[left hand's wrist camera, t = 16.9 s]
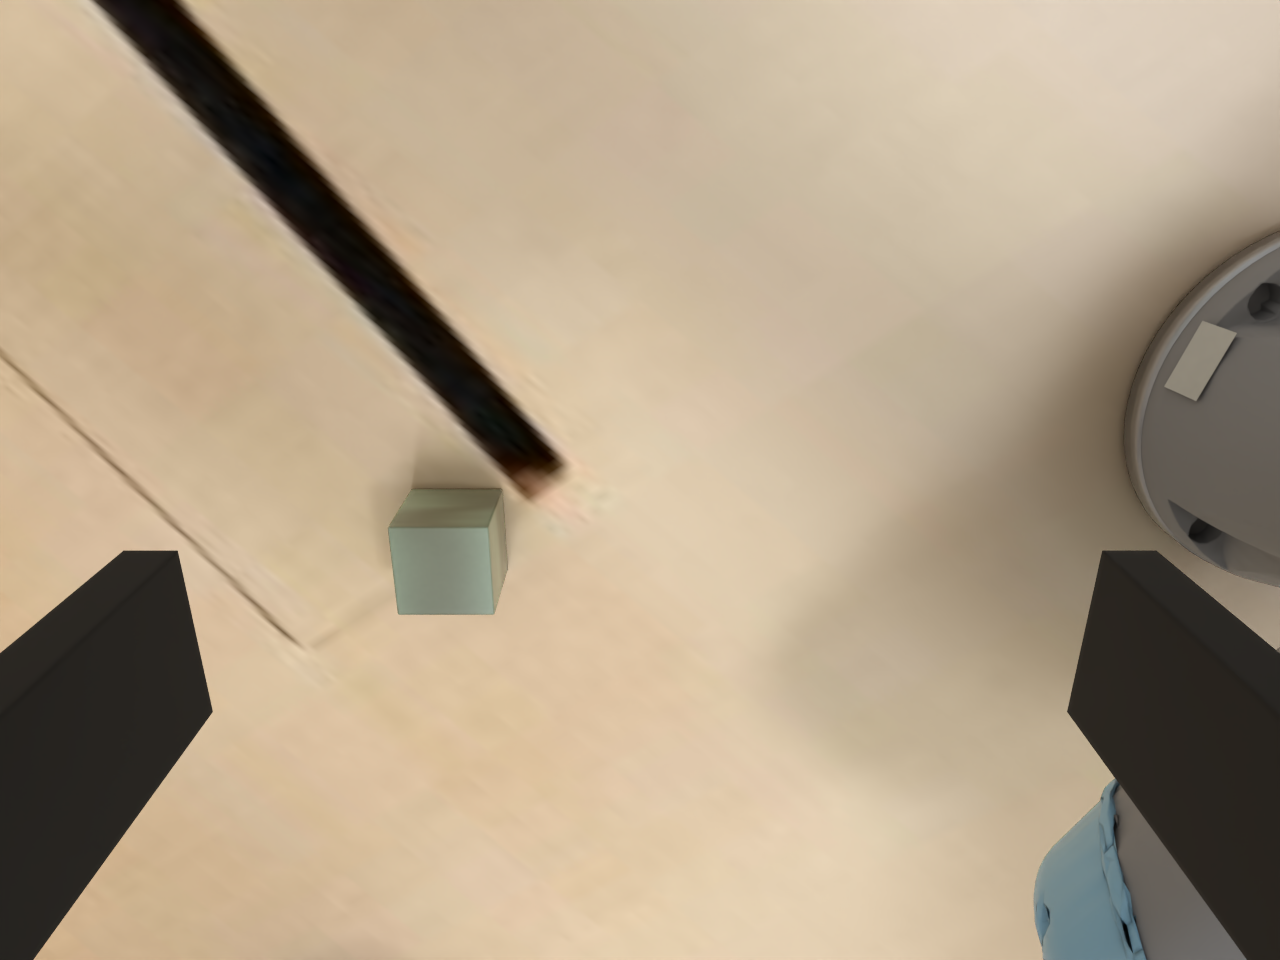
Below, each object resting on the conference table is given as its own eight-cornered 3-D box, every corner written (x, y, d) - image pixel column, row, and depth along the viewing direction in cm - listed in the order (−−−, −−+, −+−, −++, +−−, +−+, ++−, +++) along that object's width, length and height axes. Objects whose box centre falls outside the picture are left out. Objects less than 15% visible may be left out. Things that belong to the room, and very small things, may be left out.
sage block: (502, 488, 39) (488, 527, 35) (507, 569, 40) (494, 615, 37) (411, 488, 39) (387, 527, 35) (419, 569, 40) (397, 615, 37)
